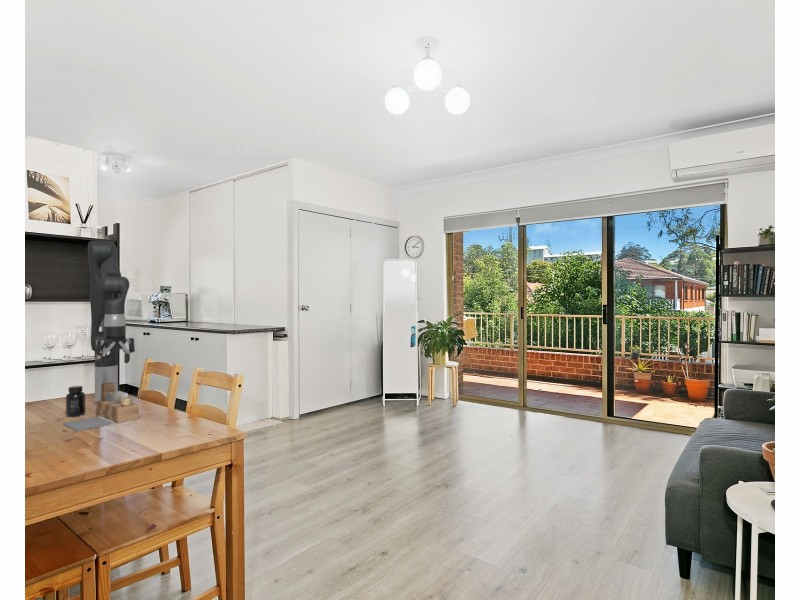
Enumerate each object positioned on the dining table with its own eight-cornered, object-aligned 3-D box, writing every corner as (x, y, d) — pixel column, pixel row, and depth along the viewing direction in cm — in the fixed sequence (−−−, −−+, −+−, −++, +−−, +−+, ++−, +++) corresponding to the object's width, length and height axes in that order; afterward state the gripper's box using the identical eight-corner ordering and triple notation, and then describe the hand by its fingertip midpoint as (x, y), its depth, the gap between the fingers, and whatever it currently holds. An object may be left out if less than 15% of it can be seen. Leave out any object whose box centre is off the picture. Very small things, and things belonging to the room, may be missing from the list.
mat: (63, 425, 186) (63, 423, 186) (97, 418, 195) (97, 416, 195) (77, 431, 177) (77, 429, 177) (112, 424, 187) (112, 422, 187)
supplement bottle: (89, 413, 204) (89, 385, 204) (77, 417, 197) (76, 388, 197) (74, 412, 204) (74, 384, 204) (61, 417, 198) (61, 388, 197)
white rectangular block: (106, 402, 198) (106, 392, 198) (119, 400, 202) (119, 390, 202) (115, 405, 193) (115, 395, 193) (128, 403, 197) (127, 393, 197)
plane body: (96, 415, 201) (96, 384, 200) (116, 411, 207) (116, 381, 207) (117, 423, 189) (117, 390, 189) (138, 419, 195) (138, 387, 195)
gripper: (129, 323, 204) (129, 361, 204) (91, 325, 193) (92, 365, 193) (137, 324, 199) (137, 363, 200) (99, 326, 188) (99, 367, 188)
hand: (115, 364), depth 196 cm, fingers open, 8 cm apart
